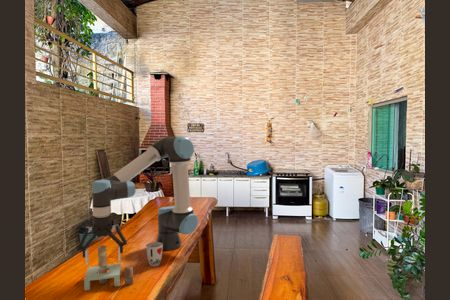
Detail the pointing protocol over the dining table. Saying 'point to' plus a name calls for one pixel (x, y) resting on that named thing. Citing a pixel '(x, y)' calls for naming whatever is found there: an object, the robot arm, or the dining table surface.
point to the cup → (154, 253)
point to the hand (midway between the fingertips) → (103, 262)
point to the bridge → (103, 275)
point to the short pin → (128, 276)
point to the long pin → (102, 262)
